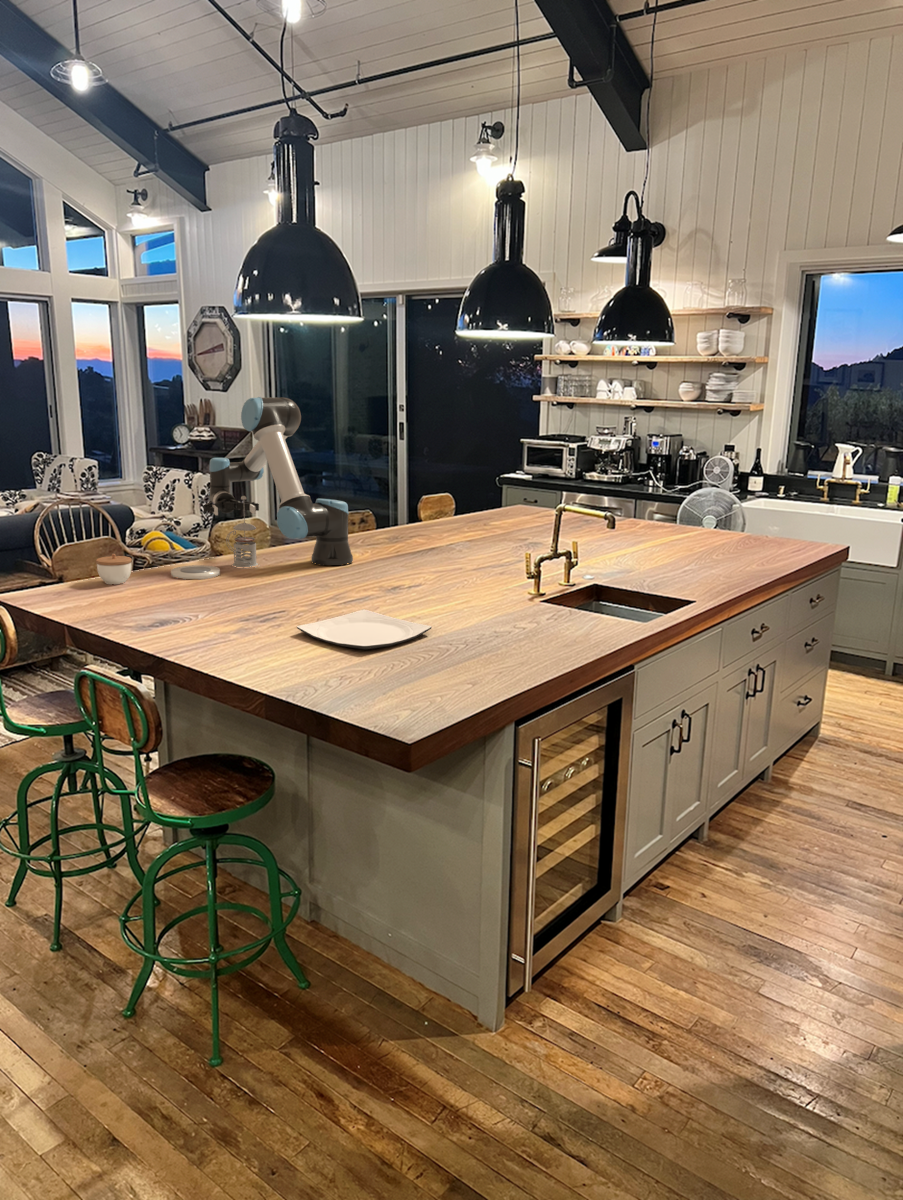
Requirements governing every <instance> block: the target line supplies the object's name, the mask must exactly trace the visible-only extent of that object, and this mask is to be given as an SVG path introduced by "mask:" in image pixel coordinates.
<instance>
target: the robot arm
mask: <svg viewBox="0 0 903 1200" xmlns="http://www.w3.org/2000/svg"><path fill="white" fill-rule="evenodd" d="M240 413H241V414H240V420H241V424H242V427H243V429H245V430H246V431H248V432H251V433H252V435H253V437H254V440H256V441H257V442H256V443H255V445H254V446H253V447H252V449H251V450H250V451H249V453H248V454H247V455H246V456H245V458H244V459H243V460H242V461H236V462H234V461H233V462H230V459H229V458H227V457H212V458H211V459H210V460H209V481H210V482H209V483H210V484H209V492H208V500H209V501H208V502H207V503H205V504H203V512H205V513H207V512H208V515H213V514H214V515H215V516H219V512H221V513H222V514H230V513H232V512H233V511H240V510H243V511H249V512H250V513H252V514H253V515H256V514H257V513H256V512H258V511H259V510H260V504H259V503H258V502H255V501H253V502H252V501H247V500H246V499H244V500H243V499H242V501H240V500H237V499H236V498H235V497H234V496H233V495H232V494H231V490H230V488H231V482H232V483H234V482H246V481H247V482H248V481H252V482H253V481H256V480H257V481H258V480H261V479H262V478H263V477H264V476H263V475H264V467H265V465H267V464H268V467H269V470H270V473H271V476H272V478H273V481H274V482H273V483H274V484H275V486H276V487H275V488H276V490H277V493H278V496H279V499H280V503H279V505H278V508H279V509H278V511H277V512H276V517H277V519H276V523H277V527H278V529H279V531H280V533H281V534H282V535H283V536H284V537H286V538H288V539H291V540H296V539H298V540H302V539H305V538H313V537H316V538H315V544H314V548H313V552H312V554H311V563H312V562H313V563H312V564H314V563H316V564H315V565H317V564H320V565H319V566H324V565H341V566H343V565H342V564H347V563H351V562H352V561H353V562H354V556H353V554H352V551H351V547H350V544H349V543H350V542H349V515H350V514H349V506H348V503H347V502H345V501H344V500H337V499H330V498H316V500H315V503H313V501H312V499H311V496H310V495H309V494H306V493H305V491H304V489H303V486H302V483H301V481H300V477H299V475H298V474H299V473H298V472H297V470H296V466H295V464H294V461H293V458H292V455H291V452H290V449H289V447H288V444H287V442H286V439H287V438H288V437H292V436H293V435H294V434H295V433H296V431H297V430H298V429H299V426H300V425H301V421H302V415H301V410H300V407H299V406H298V405H297V403H296V402H295V401H294V400H292V399H290V398H289V397H262V396H258V397H250V398H248V399H247V400H245V402H244V403H243V405H242V408H241V412H240ZM351 564H352V563H351Z"/></svg>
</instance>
